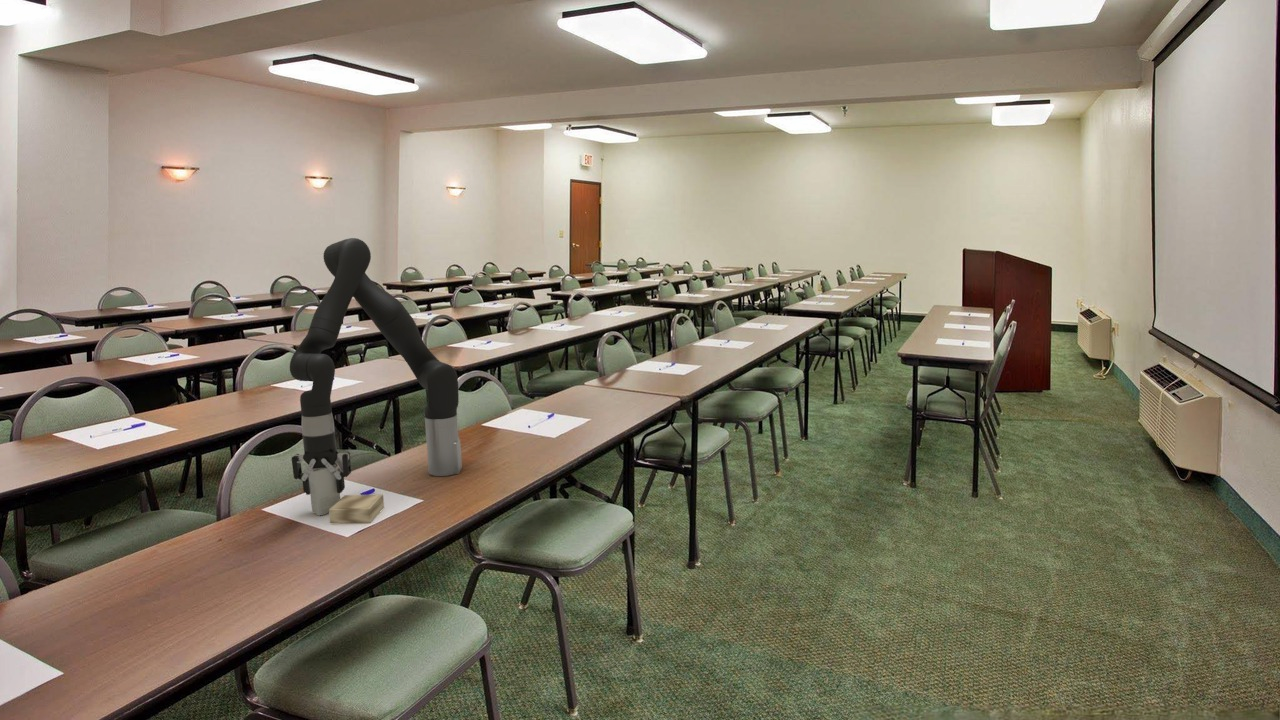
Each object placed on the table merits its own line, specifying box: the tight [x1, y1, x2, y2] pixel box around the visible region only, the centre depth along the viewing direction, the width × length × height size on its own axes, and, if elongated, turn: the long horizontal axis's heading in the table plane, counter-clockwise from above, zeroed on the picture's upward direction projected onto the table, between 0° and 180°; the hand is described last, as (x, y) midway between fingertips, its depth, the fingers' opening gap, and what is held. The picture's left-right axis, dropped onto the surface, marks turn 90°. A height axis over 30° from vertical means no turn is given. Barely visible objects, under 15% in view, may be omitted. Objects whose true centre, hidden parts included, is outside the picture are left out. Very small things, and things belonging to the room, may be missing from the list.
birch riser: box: [328, 493, 385, 524], centre depth 186 cm, size 10×10×4 cm
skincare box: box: [308, 465, 341, 517], centre depth 188 cm, size 6×4×12 cm
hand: (324, 492), depth 188 cm, fingers open, 7 cm apart
